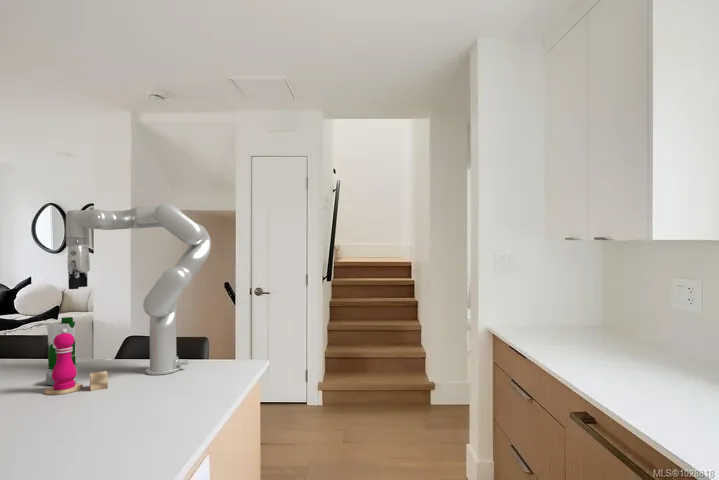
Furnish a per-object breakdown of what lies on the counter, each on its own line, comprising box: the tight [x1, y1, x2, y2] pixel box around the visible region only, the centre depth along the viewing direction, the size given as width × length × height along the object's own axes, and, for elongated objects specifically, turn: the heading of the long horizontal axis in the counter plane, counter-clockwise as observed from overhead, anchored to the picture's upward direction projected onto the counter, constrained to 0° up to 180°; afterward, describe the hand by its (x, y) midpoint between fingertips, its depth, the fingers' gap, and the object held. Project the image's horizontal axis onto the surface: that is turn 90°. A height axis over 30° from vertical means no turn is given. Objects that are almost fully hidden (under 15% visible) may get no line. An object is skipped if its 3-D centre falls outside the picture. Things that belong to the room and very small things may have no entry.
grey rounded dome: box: [45, 370, 56, 386], centre depth 165 cm, size 8×8×4 cm
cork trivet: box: [43, 382, 84, 396], centre depth 156 cm, size 11×11×1 cm
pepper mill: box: [52, 329, 78, 390], centre depth 156 cm, size 7×7×20 cm
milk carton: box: [46, 316, 77, 370], centre depth 188 cm, size 9×9×20 cm
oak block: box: [89, 370, 109, 392], centre depth 158 cm, size 5×5×5 cm
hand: (78, 287), depth 174 cm, fingers open, 9 cm apart
